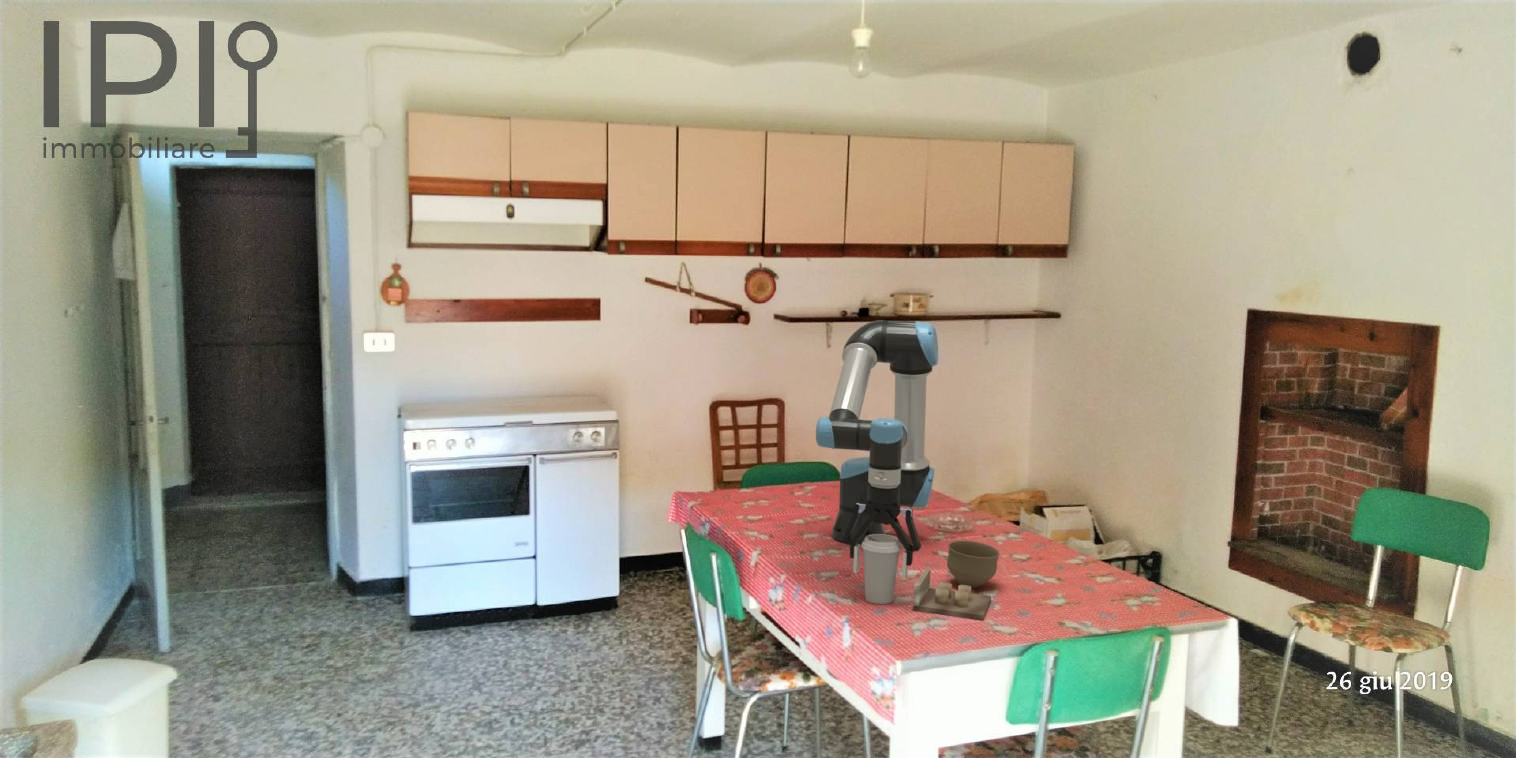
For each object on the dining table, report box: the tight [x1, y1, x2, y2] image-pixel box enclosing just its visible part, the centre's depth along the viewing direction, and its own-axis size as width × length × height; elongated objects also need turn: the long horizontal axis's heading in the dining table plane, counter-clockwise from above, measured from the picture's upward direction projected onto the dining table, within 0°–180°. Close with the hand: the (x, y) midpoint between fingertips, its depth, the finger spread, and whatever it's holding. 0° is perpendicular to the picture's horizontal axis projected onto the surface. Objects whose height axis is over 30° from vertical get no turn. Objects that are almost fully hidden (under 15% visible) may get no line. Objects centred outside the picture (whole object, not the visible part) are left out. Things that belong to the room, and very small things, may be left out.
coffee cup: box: [860, 533, 903, 605], centre depth 241 cm, size 10×10×15 cm
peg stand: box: [912, 567, 992, 621], centre depth 239 cm, size 16×14×6 cm
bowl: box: [946, 540, 1000, 589], centre depth 254 cm, size 13×13×10 cm
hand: (880, 574), depth 241 cm, fingers open, 11 cm apart
